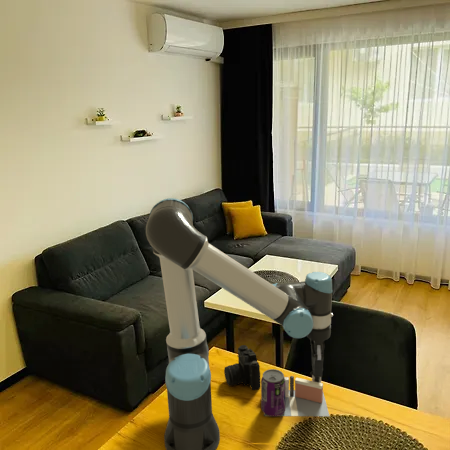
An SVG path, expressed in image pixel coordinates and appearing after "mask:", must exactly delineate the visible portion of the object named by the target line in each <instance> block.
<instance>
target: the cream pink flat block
mask: <svg viewBox="0 0 450 450" xmlns="http://www.w3.org/2000/svg"><path fill="white" fill-rule="evenodd" d="M294 390H295V397H299V398H303V399H307V400H311V401H315V402H319V403H322V401H323V393H324V383H323V382H321V383H319V382H314V381H312V380H309V379H305V378H300V377H296V378H294Z"/></svg>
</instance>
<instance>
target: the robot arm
mask: <svg viewBox="0 0 450 450" xmlns="http://www.w3.org/2000/svg"><path fill="white" fill-rule="evenodd" d="M148 216H149V218H148V220H147V222H146V224H145V225H146V226H145V236H146V239H147V241H148V243H149V245H150V246H151V247H152V253H153V254H154V255H155V256H157V257H158V258H159V264H160V268H161V269H160V271H161V279H162V283H163V290H164V298H165V304H166V305H165V306H166V310H167V311H166V313H167V319H168V326H169V334H167V336H166V337H165V338H166V339H165V341H166V349H167V356H168V365H167V367H166V369H165V375H164V376H165V379H164V380H165V381H164V382H165V386H166V392H167V403H168V404H167V406H168V407H167V409H168V416H169V417H168V421H167V424H166V428H165V431H164V438H163V439H164V447H165V450H217V449H218V446H219V444H220V441H221V440H220V438H221V435H220V429H219V425H218V423H217V420H216V419H215V415H214V414H213V405H212V404H213V403H212V402H213V401H212V386H211V385H212V381H211V380H212V373H211V369H210V360H209V346H208V342H207V334H206V332H205V330H204V329H202V328H201V326H200V321H199V311H198V304H197V303H198V302H197V294H196V287H195V278H194V272H195V273H197V274H199V275H201V276H202V277H204V278H205V279H207V280H209V281H210V282H212V283H213V284H215V285H217V286H218V287H220V288H221V289H223V290H224V291H226V292H228V293H229V294H231V295H232V296H234V297H236V298H237V299H239V300H241V301H242V302H244V303H246V304H247V305H249V306H250V307H252V308H254V309H255V310H257V312H260V313H261V314H263V315H264V316H266V317H268V318H270V319H271V320H273V321H274V322H276V323H277V324H279V325H280V326H282V328H283V330H284V331H285V332H286V334H287V335H288V336H289V337H291V338H294V339H302V338H303V339H304V338H305V337H307V338H308V339H309V340H310V345H311V346H310V349H311V350H310V351H311V366H312V367H311V369H312V370H311V371H310V375H311V381H314V382H319V383H322V378H323V371H324V359H325V355H324V354H325V351H324V350H325V348H326V346H325V345H326V344H325V341H326V340H328V339H329V338H330V337H331V335H332V334H331V333H332V330H331V329H332V325H331V324H332V317H333V316H334V314H333V312H332V305H333V304H332V302H333V301H332V300H333V299H332V298H333V279H332V276H330V274H327V273H326V272H322V271H312V272H309V273H307V274H306V276H305V280H304V281H303V280H302V281H301V282H300V281H296V282H281V283H280V282H279V283H278V282H276V283H271V282H269V281H267V280H266V279H265V278H263V277H261V276H260V275H259V274H256V273H255V272H254V271H252V270H250V269H249V268H248V267H247V266H244V265H243V264H241V263H240V262H238V261H237V260H235V259H234V258H232V257H230V256H229V255H227V254H226V253H224V252H223V251H221V250H220V249H218V248H217V247H215V246H214V245H212V244H211V243H209V241H208V237H207V236H206V235H205V234H203V233H201V232H200V231H198V229H197V228H195V226H194V224H193V221H194V216H193V212H192V210H191V209H190V207H189V206H188V204H187V203H185V202H184V201H183V200H181V199H178V198H176V197H175V198H174V197H173V198H172V197H170V198H169V197H168V198H165V199H162V200H160V201H158V202H156V204H155V205H153V207H151V210H150V213H149V215H148Z"/></svg>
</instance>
